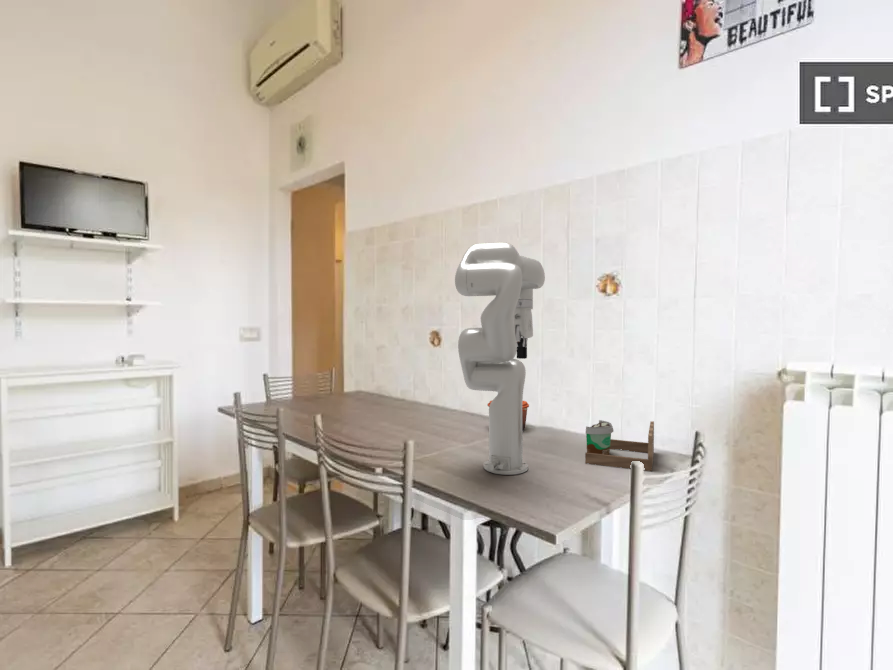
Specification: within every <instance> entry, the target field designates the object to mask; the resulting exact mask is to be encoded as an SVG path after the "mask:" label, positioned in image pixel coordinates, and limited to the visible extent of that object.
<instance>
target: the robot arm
mask: <svg viewBox="0 0 893 670" xmlns="http://www.w3.org/2000/svg"><path fill="white" fill-rule="evenodd" d="M545 279H546V274H545V269H544V267H543V265H542V264H541V262H540V261H539V260H536V259H534V258H530V257H526V256H523V255H520V254H519V252H518V250H517V249H516V247H515V246H514V245H512V244H511V243H509V242H502V241H501V242H498V241H497V242H485V243H475V244H472V245H471V246H469V247H468V248H467V250H466V251H465V252H464V255H463V256H462V258H461V261H460V262H459V264H458V265H457V269H456V270H455V275H454V285H455V288H456V291H457V292H458V294H460V295H461V296H465V297H487V296H489V297H492V296H493V297H494V298H493V299H492V300H491V301H490V302H489V303H488V304H487V305H486V307H485V308H484V309H483V311H482V313H481V314H480V323H481V324H480V325H481V327H468V328H465V329H464V330H462V331H461V332H460V334H459V337H458V342H457V351H458V352H457V353H458V356H459V360H460V361H459V362H460V365H461V370H462V374H463V378H464V383H465V385H466V387H467V388H468V389H470V390H471V391H481V392H482V391H483V392H484V391H485V392H497V394H496V396H495V397H494V398H493V399H492V400H491V401H492V402H491V403H490V406H488V459H487V460H485V461H484V462H483V469H484V470H485V471H487V472H489V473H492V474H495V475H505V476H508V475H510V476H511V475H520V474H524V473H525V472H527V470H529V464H528V463H527V462H526V461H524V460H523V431H522V401H524V400H523V399H524V389H525V382H526V371H527V370H526V367H525V364H524V363H523V362H522V361H521V359H528V340H529V339H531V338H532V337H533V336H534V328H533V326H534V325H533V314H532V313H533V312H532V310H534V290H538V289H540V288H543V286H544V284H545V281H546V280H545ZM515 357H516V358H517V359H516V358H515Z"/></svg>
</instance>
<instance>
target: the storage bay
mask: <svg viewBox="0 0 893 670" xmlns="http://www.w3.org/2000/svg"><path fill="white" fill-rule="evenodd" d="M647 436H648V437H647V442H642V441H634V440H633V441H632V440H624V439H622V440H620V439H613V438H611V442H610V450H615V449H622V450H621V451H624V450H629V451H628V452H634V451H635V453H644V454H647V458H639V457H629V456H622V455H621V456H620V455H612V454H609V455H605V454H596V453H587V451H586V452H585V454H584V455H585V456H584V457H585V459H584V460H585V463H584V464H587V463H589V465H595V464H596V465H597V466H605V467H611V468H620V467H622V468H621V469H628V468H629V469H630V465H631V462H632V461H640V462H642V463H643V464H644V468H645V471H644V472H652V471H653V466H654V465H653V462H654V454H655V453H654V450H655V421H653V420H651V421H650V423H649V428H648V433H647ZM629 469H628V470H629Z"/></svg>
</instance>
